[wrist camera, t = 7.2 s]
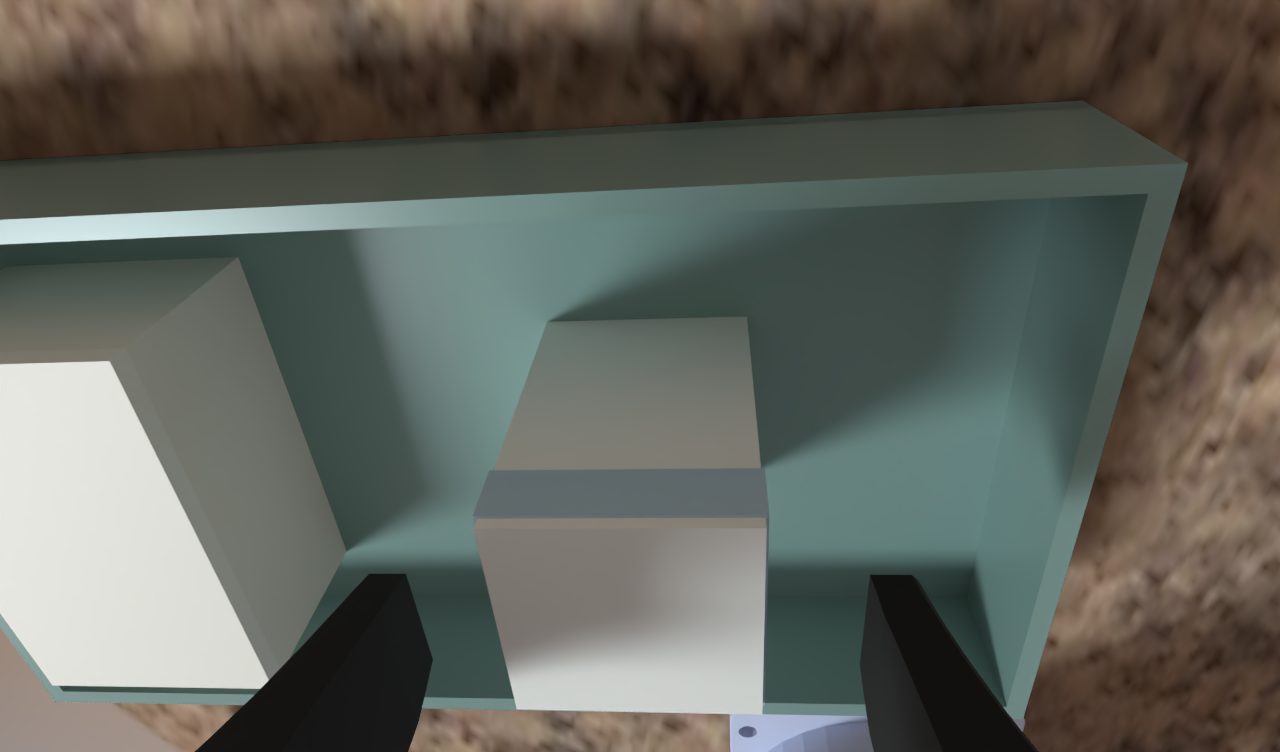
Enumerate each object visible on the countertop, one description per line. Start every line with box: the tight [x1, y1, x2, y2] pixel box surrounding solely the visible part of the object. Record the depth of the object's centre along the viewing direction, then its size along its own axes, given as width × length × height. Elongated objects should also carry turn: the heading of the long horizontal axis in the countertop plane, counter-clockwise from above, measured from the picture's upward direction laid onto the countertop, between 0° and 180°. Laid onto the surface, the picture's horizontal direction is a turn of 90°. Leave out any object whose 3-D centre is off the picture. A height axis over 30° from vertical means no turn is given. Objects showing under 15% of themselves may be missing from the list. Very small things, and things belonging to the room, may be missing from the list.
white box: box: [0, 257, 347, 689], centre depth 16 cm, size 8×5×4 cm, turn 4°
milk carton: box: [473, 316, 770, 715], centre depth 14 cm, size 4×4×6 cm
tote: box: [0, 100, 1188, 719], centre depth 16 cm, size 12×22×4 cm, turn 94°
